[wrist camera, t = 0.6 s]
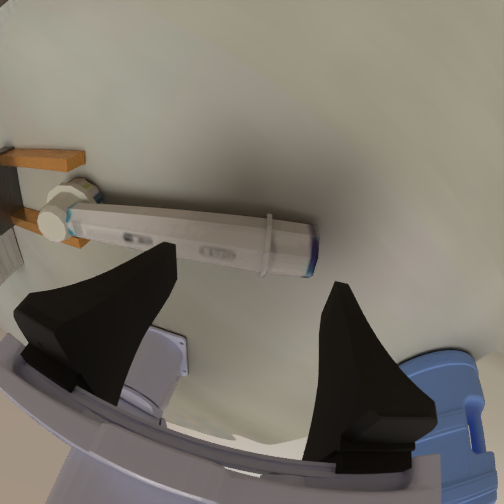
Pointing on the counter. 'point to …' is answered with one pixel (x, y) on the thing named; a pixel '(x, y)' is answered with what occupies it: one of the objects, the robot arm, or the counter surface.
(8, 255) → the supplement box
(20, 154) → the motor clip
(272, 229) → the electric toothbrush
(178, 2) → the counter surface
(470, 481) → the water jug
